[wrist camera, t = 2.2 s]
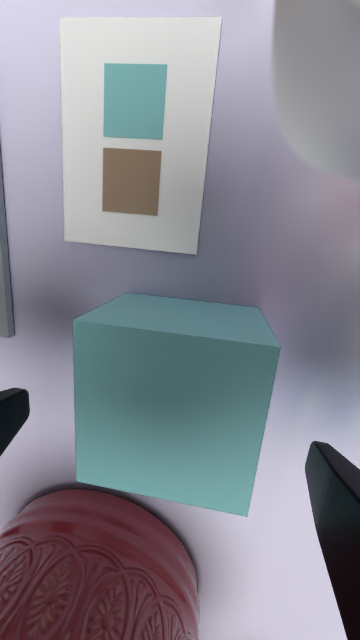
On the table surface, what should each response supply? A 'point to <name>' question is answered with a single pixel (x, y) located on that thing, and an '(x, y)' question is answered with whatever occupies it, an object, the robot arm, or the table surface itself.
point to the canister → (94, 572)
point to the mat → (4, 273)
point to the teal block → (173, 398)
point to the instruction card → (136, 128)
